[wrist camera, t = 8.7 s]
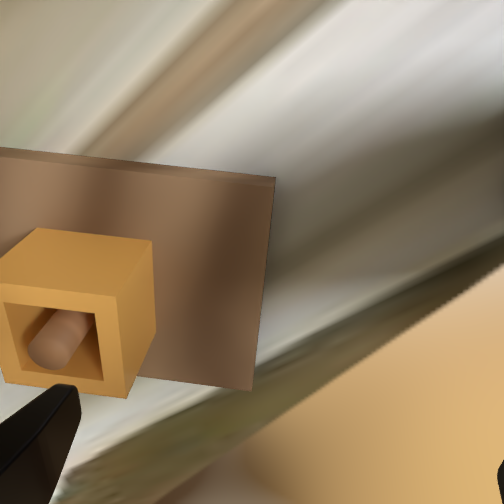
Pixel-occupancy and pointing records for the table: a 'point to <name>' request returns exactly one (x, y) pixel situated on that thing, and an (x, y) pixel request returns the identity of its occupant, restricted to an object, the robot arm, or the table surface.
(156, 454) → the table surface
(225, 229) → the peg board
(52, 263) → the orange square block
